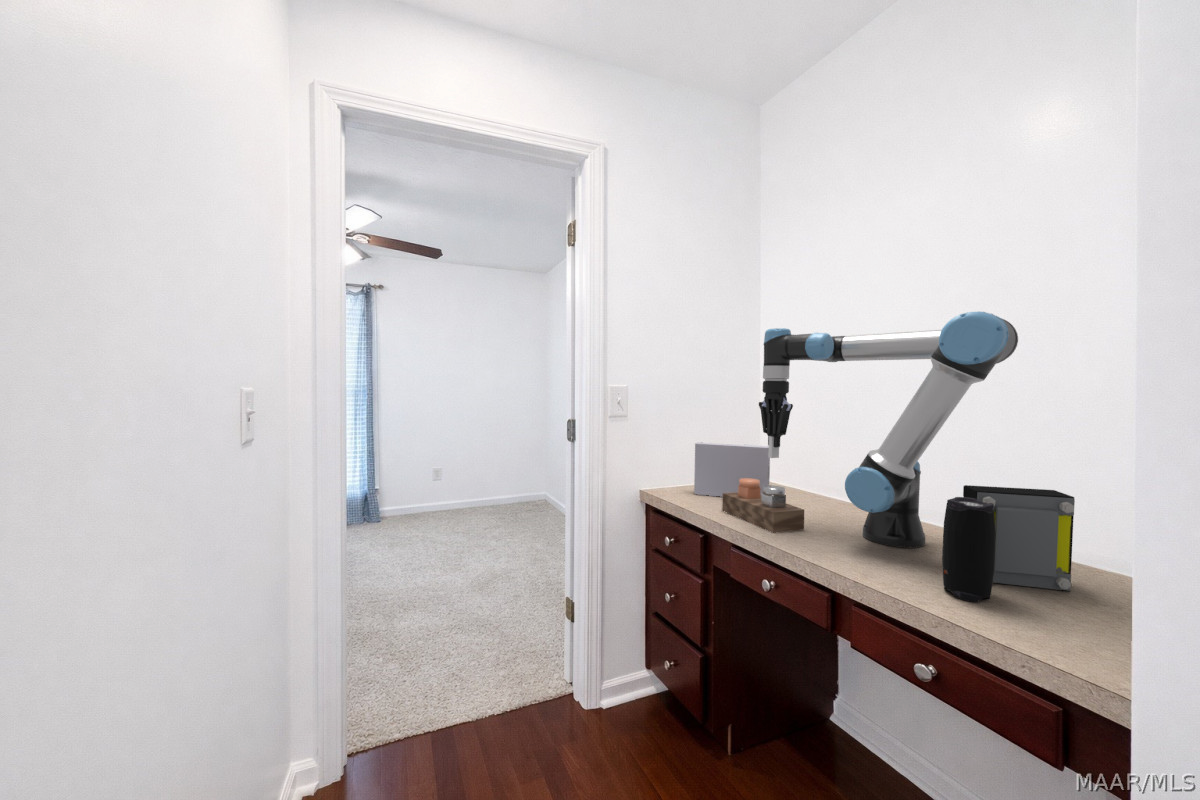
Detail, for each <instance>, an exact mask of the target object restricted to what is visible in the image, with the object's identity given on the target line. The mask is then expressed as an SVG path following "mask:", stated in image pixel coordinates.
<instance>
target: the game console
mask: <svg viewBox="0 0 1200 800" xmlns="http://www.w3.org/2000/svg"><path fill="white" fill-rule="evenodd" d="M768 451H769V446H768V445H758V444H757V445H753V444H732V443H730V444H729V443H714V442H713V443H712V442H703V441H700V442H699V441H697V442H695V444H694V481H693V482H694V484H693V485H694V488H693V490H694V491H693V492H694V493H693V495H696V494H697V495H698V496H706V495H709V496H708V497H716V496H720V497H719V498H723V493H732V492H738V485H739V479H741V478H752V479H758V480H760V487H761V490H760V495H762V493H763V486H766V485H770V477H771V476H770V472H771V471H770V470H771V458H769V457H768Z"/></svg>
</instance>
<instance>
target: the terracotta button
mask: <svg viewBox="0 0 1200 800" xmlns="http://www.w3.org/2000/svg"><path fill="white" fill-rule="evenodd" d="M760 490H761V487H760V480H758V479H752V478H741V479H739V485H738V496H740V497H743V498H745V499H756V498H760Z"/></svg>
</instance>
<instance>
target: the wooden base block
mask: <svg viewBox="0 0 1200 800" xmlns="http://www.w3.org/2000/svg"><path fill="white" fill-rule="evenodd" d="M761 496H762V495H760V498H756V499H745V498H743V497H740V496H738V492H732V493H723V497H722V500H721V501H722V509H721V511H722V510H723V512H724V511H725V512H724V513H726V512H727V513H726V514H729V513H730V514H729V515H731V514H732V515H731V516H733V515H734V516H733V517H735V516H736V518H738V519H740V518H741V519H740V520H742V519H743V521H744V522H748V523H749V522H750V523H749V524H751V523H752V525H754V526H756V527H758V526H759V527H758V528H760V527H761V529H763V530H765V529H766V530H765V531H767V530H768V531H767V532H770V531H771V532H770V533H772V532H773V533H772V534H777V533H776V532H779V533H785V532H795V531H804V530H805V509H803V508H801V507H798V506H796V505H795V506H794V505H792V504H789V503H786V507H781V508H770V507H767V506H764V505H762V504H761Z"/></svg>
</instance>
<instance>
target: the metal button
mask: <svg viewBox="0 0 1200 800" xmlns="http://www.w3.org/2000/svg"><path fill="white" fill-rule="evenodd" d="M761 504H762V505H764V506H767V507H770V508H781V507H786V504H787V495H786V487H785V486H781V485H772V484H771V485H770V484H769V485H766V486H763V493H762V496H761Z"/></svg>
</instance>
